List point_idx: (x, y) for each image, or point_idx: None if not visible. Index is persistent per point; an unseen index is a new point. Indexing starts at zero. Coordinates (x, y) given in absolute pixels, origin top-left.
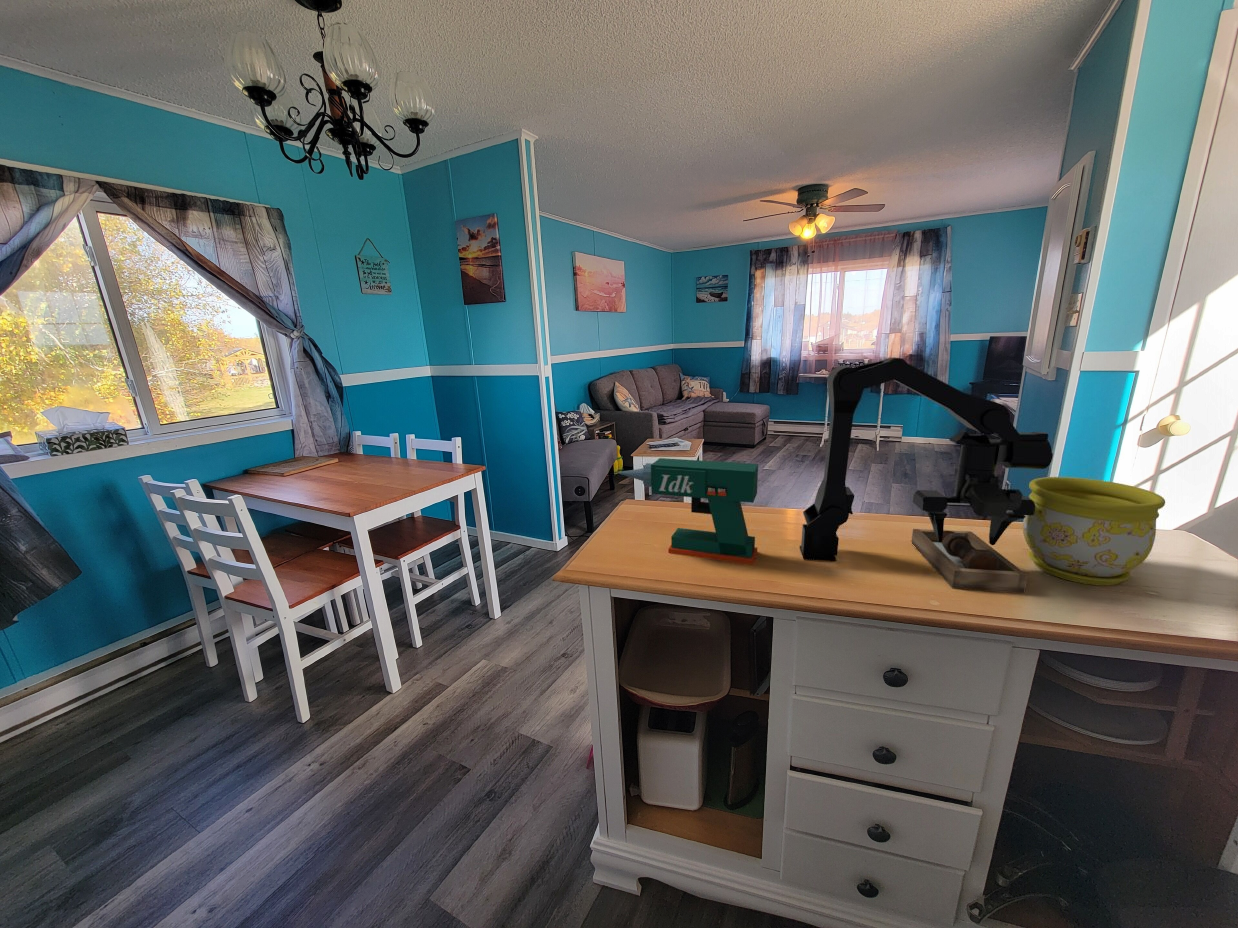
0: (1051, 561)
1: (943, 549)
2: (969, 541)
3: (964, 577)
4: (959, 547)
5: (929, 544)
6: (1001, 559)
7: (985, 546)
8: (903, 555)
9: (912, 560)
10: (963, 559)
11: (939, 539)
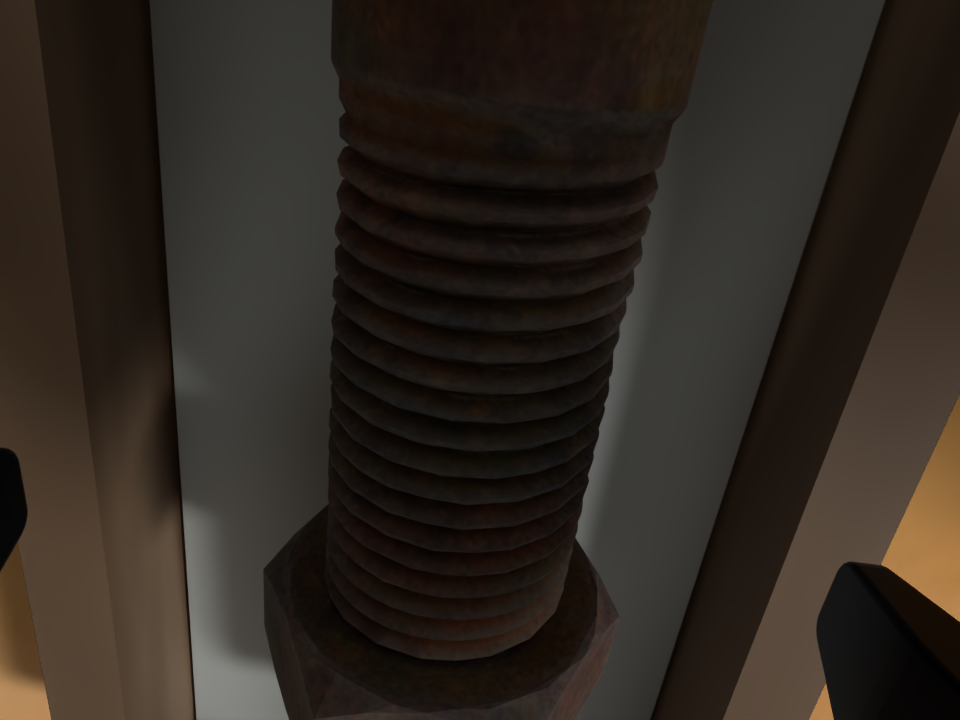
0: None
1: None
2: (292, 614)
3: None
4: (578, 432)
5: None
6: (30, 85)
7: (87, 546)
8: (946, 577)
9: (943, 469)
10: None
11: (927, 599)
